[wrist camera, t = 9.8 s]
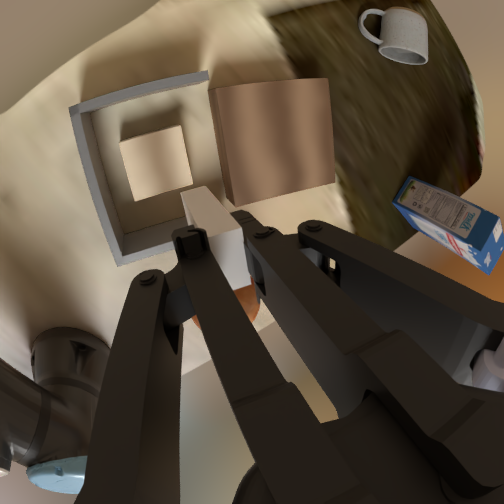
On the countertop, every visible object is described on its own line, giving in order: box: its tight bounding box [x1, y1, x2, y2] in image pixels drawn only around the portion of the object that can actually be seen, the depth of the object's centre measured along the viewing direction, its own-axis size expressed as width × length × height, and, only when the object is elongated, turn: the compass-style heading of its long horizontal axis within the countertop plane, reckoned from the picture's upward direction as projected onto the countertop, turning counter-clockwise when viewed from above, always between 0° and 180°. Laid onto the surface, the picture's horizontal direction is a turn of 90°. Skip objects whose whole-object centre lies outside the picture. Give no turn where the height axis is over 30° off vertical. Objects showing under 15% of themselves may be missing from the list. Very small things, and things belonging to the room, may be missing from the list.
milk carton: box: [392, 176, 504, 275], centre depth 43 cm, size 10×6×20 cm, turn 53°
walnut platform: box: [208, 78, 335, 207], centre depth 35 cm, size 14×14×4 cm
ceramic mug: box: [358, 7, 428, 65], centre depth 31 cm, size 11×8×8 cm
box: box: [69, 70, 209, 267], centre depth 31 cm, size 14×18×6 cm
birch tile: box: [119, 124, 193, 201], centre depth 32 cm, size 7×7×3 cm
